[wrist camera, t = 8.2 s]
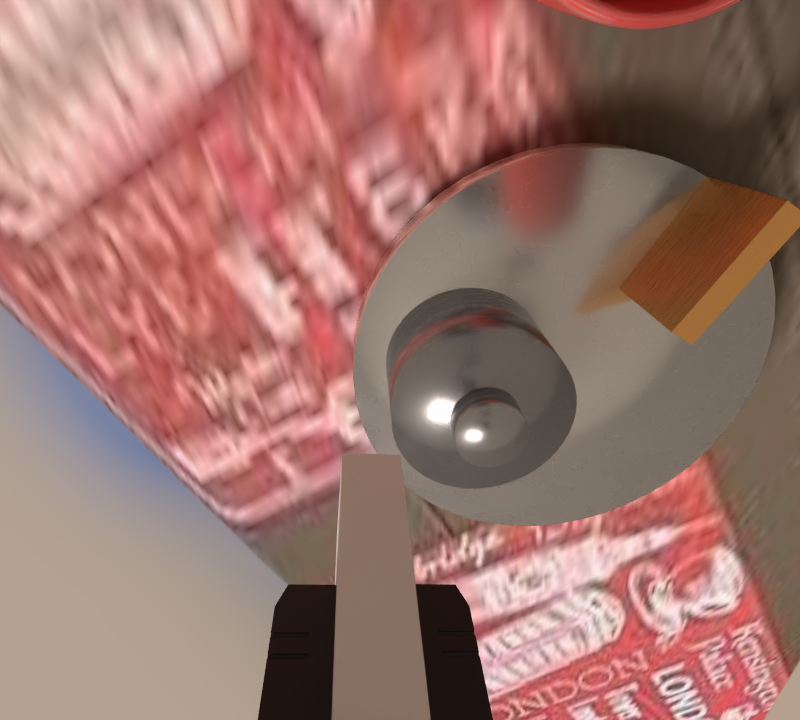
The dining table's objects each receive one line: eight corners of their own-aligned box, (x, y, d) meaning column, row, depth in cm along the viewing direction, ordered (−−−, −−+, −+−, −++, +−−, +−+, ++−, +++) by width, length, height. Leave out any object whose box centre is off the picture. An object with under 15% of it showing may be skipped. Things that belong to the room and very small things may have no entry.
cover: (357, 389, 28) (357, 471, 22) (440, 258, 25) (466, 314, 19) (483, 446, 30) (513, 534, 24) (572, 333, 27) (631, 403, 21)
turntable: (285, 422, 31) (267, 510, 25) (509, 39, 22) (566, 27, 16) (576, 544, 37) (620, 637, 31) (834, 281, 29) (963, 338, 23)
